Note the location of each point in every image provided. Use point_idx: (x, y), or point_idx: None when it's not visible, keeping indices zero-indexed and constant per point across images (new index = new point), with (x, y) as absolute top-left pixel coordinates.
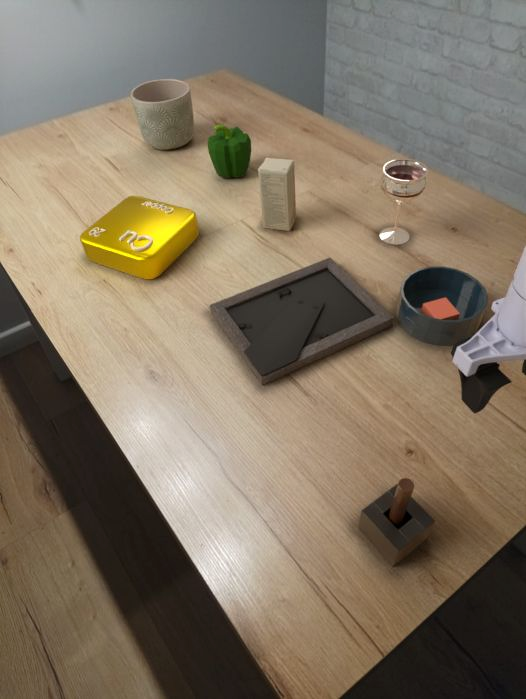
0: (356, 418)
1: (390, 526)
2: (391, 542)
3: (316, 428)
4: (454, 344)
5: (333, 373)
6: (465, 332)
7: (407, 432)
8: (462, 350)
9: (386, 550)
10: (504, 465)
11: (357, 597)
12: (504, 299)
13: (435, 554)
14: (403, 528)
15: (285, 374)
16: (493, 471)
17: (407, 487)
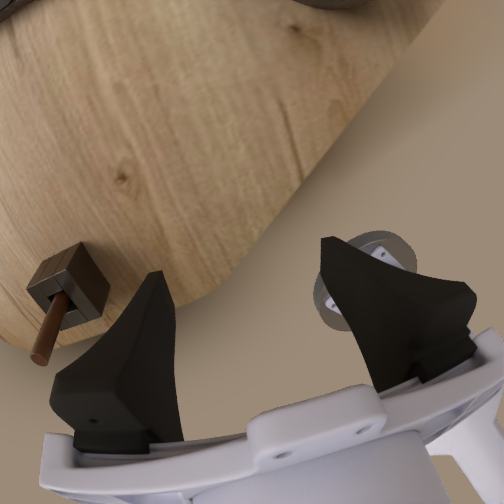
0: (65, 104)
1: None
2: None
3: (12, 118)
4: (54, 398)
5: (67, 12)
6: (334, 3)
7: (131, 143)
8: (53, 491)
9: None
10: (244, 227)
11: (42, 313)
12: (348, 431)
13: (114, 300)
14: (66, 315)
15: (4, 18)
16: (224, 231)
17: (40, 362)
